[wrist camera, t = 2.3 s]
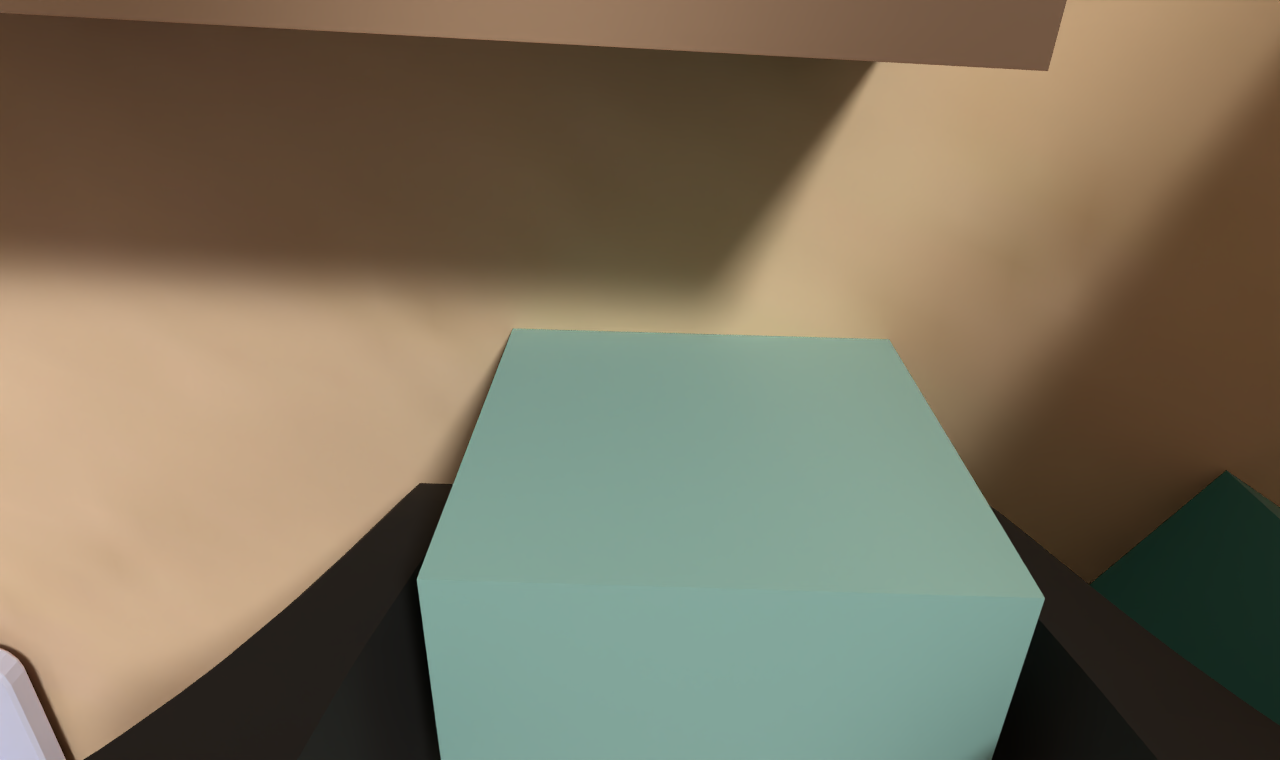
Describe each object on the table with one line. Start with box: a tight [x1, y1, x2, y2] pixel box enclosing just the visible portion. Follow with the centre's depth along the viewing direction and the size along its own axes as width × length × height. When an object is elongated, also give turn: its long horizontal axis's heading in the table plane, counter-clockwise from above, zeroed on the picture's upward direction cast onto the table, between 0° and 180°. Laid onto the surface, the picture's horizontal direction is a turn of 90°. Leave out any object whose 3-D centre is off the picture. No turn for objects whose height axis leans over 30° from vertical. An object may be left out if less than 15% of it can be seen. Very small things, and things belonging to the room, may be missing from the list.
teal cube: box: [417, 329, 1045, 760], centre depth 9 cm, size 5×5×5 cm
